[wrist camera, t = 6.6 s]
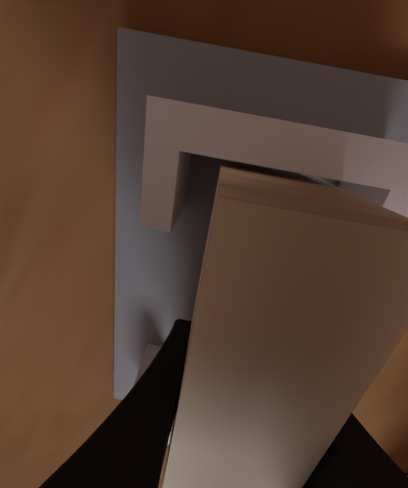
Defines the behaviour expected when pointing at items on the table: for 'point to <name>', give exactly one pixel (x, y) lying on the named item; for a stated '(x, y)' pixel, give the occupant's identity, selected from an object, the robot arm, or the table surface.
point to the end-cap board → (227, 149)
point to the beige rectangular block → (284, 327)
